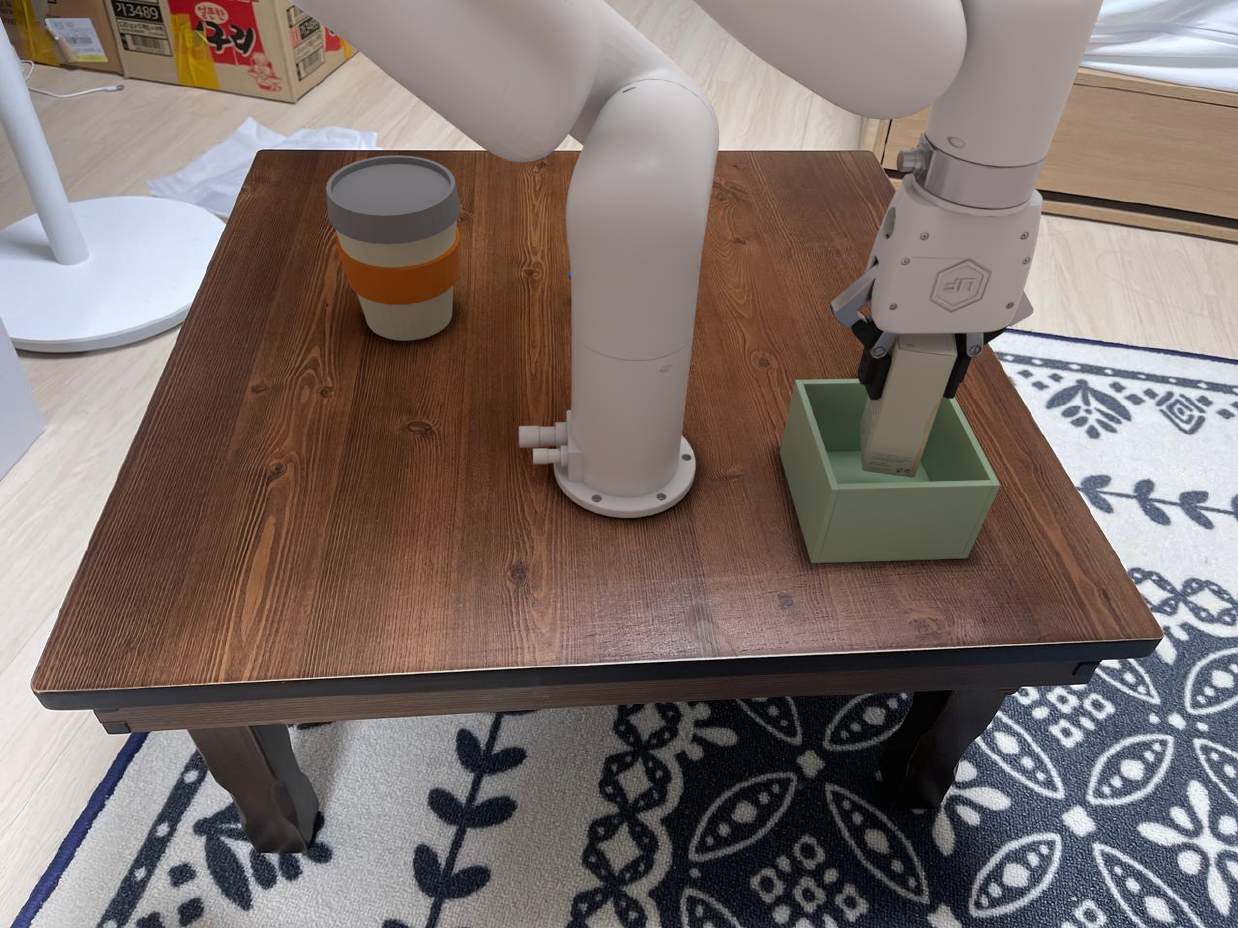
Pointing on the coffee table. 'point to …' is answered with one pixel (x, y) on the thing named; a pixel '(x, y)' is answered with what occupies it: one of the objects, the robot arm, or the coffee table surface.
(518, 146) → the robot arm
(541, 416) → the coffee table surface
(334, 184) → the reusable coffee cup
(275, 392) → the coffee table surface
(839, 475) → the bin
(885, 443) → the cosmetic box
